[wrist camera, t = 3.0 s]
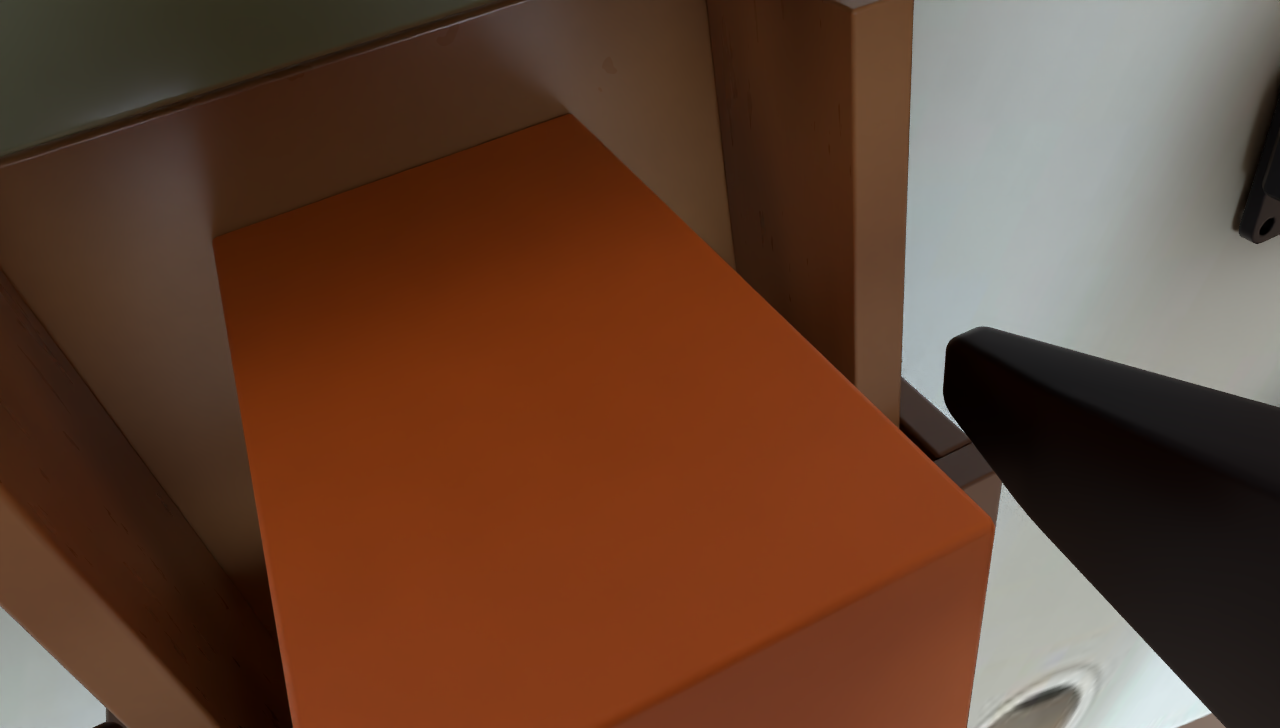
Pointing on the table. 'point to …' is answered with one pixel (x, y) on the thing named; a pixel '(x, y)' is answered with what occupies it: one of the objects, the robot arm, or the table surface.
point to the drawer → (324, 167)
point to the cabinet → (940, 446)
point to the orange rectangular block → (576, 469)
